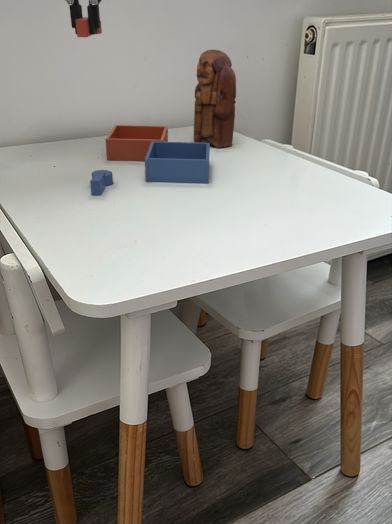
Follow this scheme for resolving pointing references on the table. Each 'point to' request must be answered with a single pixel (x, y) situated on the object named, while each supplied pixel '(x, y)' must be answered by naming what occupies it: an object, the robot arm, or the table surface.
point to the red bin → (133, 141)
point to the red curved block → (84, 27)
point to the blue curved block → (100, 181)
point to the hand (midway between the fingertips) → (86, 32)
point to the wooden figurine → (214, 99)
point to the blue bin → (177, 162)
